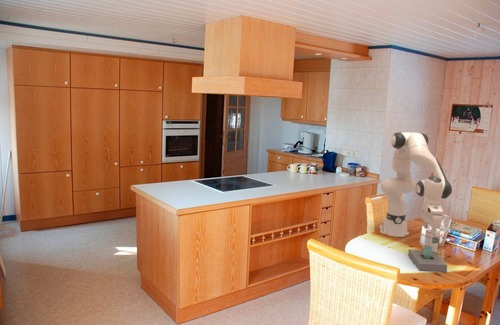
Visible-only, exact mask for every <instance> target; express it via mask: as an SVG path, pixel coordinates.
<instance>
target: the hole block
mask: <svg viewBox="0 0 500 325" xmlns="http://www.w3.org/2000/svg"><path fill="white" fill-rule="evenodd" d="M423 252H424V249H423V250H421V249H408V252H407V257H408V256H409V257H408V258H409V260H410V261H411V260H412V261H413V262H412V261H411V262H412V263H413V264H415V265H416V266H415V265H414V266H415V267H416V268H417V270H418V269H419V270H420V271H421V272H435V273H447V272H448V264H447V262H445V261H444V260H443V259H442V258H441V257H440V256H439V254H438V255H437V254H436V253H435V252H434V251H432V252H431V259H423ZM419 270H418V271H419Z"/></svg>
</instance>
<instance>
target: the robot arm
mask: <svg viewBox="0 0 500 325" xmlns="http://www.w3.org/2000/svg"><path fill="white" fill-rule="evenodd" d="M428 144H429V137H428V135H427V134H425V133H423V132H415V131H414V132H413V131H410V132H408V131H407V132H398V131H397V132H395V133H394V134H392V136H391V146H392V147H393V148H394V152H393V159H392V166H391V168H392V170H394V171H395V173H396V177H389V178H386V179H384V180H383V181H382V182H381V184H380V188H381V191H382V193H384V194H385V197H386V198H387V212H386V217H385V218H384V219H383V221H381V223H380V224H381V225H379V232H380V234H384V235H387V236H389V237H396V238H403V237H406V236H408V235H410V232H409V231H408V222H407V221H406V216H407V215H406V208H407V207H406V205H407V204H406V202H405V201H404V200H403V199H402V194H408V193H411V192H414V191H415V193H416V195H418V196H419V197H422V198H424V199H423V202H422V207H421V211H420V217H421V219H422V220H423V224H424V226H423V227H424V229H425V230H428V229H429V226H430V229H431V231H430V234H431V235H434V234H435V230H440V229H441V226H442V221H443V215H444V210H443V208H442V199H447V198H449V197H450V196H451V194H452V191H453V189H452V184H451V183H450V182H449V180H448V179H447V177H446V175H445V172H444V170H443V168H442V166H441V163H440V162H439V160H438V158H437V157H435V156H434V155H433V154H432V153H431V151H430V149H429V147H428ZM411 162H412V163H414V164H415V165H418V166H421V167H424V168H426V169H428V170H430V171H431V172H432V173H433V176H428V177H427V178H426V179H420V180H419V181H417V183H416V180H414V177H413V176H412V173H411Z"/></svg>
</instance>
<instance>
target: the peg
mask: <svg viewBox="0 0 500 325" xmlns="http://www.w3.org/2000/svg"><path fill="white" fill-rule="evenodd" d="M423 250H424V252H423V259H431V252H432V247H431V246H428V245H425V246H424V245H423Z"/></svg>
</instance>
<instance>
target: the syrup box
mask: <svg viewBox="0 0 500 325" xmlns="http://www.w3.org/2000/svg"><path fill="white" fill-rule="evenodd" d="M431 229H432V228H430V229H429V228H428V229H425V233H424V245H423V247H424V246H425V245H428V246H431V247H432V251H434V252H435V253H436V254H437V255H438V256H439V252H440V250H439V249H440V240H441V239H440V238H441V231H440V230H439V229H436V230H435V234H434V235H431V234H430V231H431Z"/></svg>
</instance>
